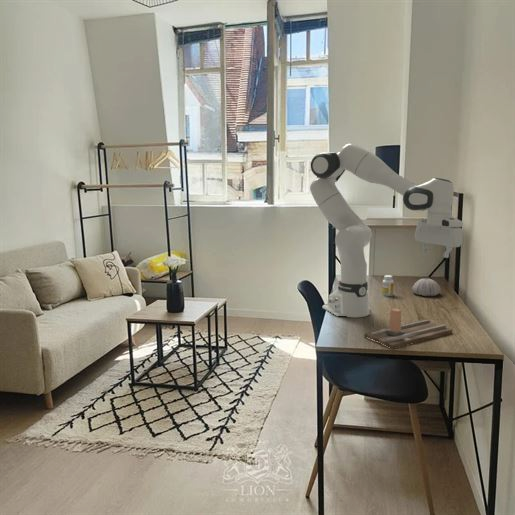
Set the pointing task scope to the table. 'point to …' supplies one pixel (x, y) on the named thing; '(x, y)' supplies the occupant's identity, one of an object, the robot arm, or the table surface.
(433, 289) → the sea urchin shell
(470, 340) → the table surface
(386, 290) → the supplement bottle
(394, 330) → the fader tab
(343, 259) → the robot arm
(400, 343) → the track board
